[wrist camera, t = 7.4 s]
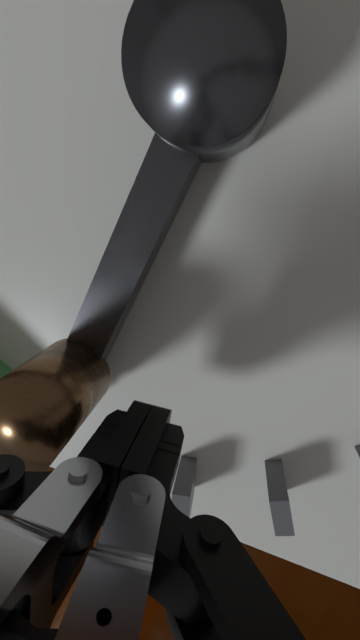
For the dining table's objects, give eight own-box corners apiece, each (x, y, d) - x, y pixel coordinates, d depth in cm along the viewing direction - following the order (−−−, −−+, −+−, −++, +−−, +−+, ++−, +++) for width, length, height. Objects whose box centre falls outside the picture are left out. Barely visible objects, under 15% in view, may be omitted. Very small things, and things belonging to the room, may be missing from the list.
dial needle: (183, -8, 11) (134, -216, 6) (300, 56, 11) (358, -95, 6) (31, 373, 16) (-67, 445, 11) (110, 417, 16) (49, 510, 11)
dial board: (-110, -143, 13) (-254, -293, 9) (694, 78, 11) (933, 2, 7) (-117, 378, 21) (-197, 414, 17) (355, 562, 19) (385, 649, 15)
